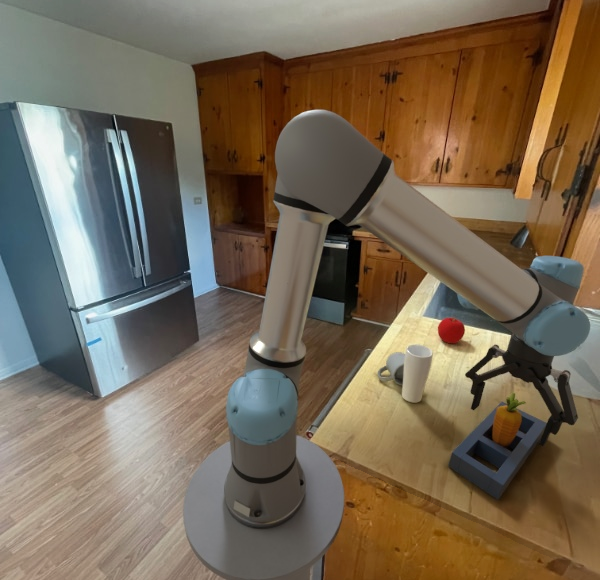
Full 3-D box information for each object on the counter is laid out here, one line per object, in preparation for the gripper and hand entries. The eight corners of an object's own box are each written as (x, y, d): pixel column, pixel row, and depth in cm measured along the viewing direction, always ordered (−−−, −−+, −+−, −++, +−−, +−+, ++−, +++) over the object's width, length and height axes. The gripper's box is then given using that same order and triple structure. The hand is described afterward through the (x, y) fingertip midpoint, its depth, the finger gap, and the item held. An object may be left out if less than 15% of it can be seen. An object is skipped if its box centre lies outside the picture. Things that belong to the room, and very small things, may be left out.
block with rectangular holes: (448, 466, 70) (451, 452, 69) (498, 413, 86) (501, 401, 84) (497, 500, 63) (503, 485, 62) (542, 436, 79) (547, 423, 77)
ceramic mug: (405, 369, 104) (408, 348, 101) (417, 385, 96) (420, 362, 93) (373, 371, 103) (375, 350, 100) (382, 387, 95) (385, 365, 92)
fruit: (467, 345, 119) (473, 320, 115) (446, 348, 117) (451, 322, 113) (450, 333, 127) (455, 309, 123) (430, 336, 125) (435, 312, 121)
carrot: (491, 438, 78) (507, 386, 72) (514, 452, 74) (532, 397, 68) (481, 448, 75) (497, 394, 69) (504, 463, 71) (523, 407, 65)
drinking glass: (409, 387, 96) (417, 341, 90) (429, 399, 90) (438, 352, 85) (393, 395, 92) (400, 348, 86) (413, 408, 87) (422, 360, 81)
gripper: (624, 357, 57) (582, 450, 65) (477, 311, 74) (458, 389, 82) (616, 373, 52) (572, 470, 60) (461, 320, 70) (443, 401, 78)
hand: (506, 423), depth 71 cm, fingers open, 13 cm apart
